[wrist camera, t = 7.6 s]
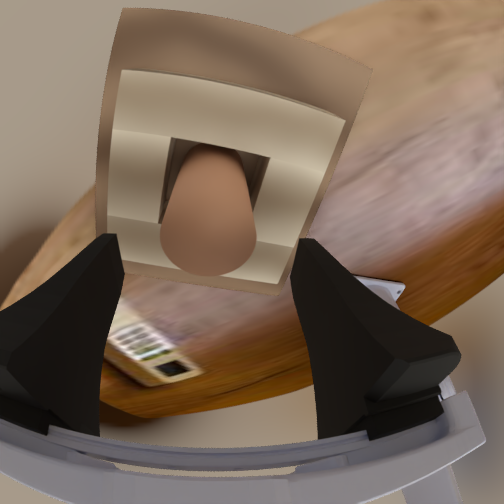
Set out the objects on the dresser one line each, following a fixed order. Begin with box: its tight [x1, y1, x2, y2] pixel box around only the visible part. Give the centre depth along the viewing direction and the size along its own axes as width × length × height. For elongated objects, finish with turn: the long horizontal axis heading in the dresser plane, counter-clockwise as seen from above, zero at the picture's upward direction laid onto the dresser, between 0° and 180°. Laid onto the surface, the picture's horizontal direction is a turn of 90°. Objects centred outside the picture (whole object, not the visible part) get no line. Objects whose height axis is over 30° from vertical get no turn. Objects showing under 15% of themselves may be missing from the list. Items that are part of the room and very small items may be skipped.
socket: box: [95, 8, 373, 296], centre depth 17 cm, size 20×16×4 cm
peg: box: [160, 143, 257, 276], centre depth 15 cm, size 4×4×8 cm
